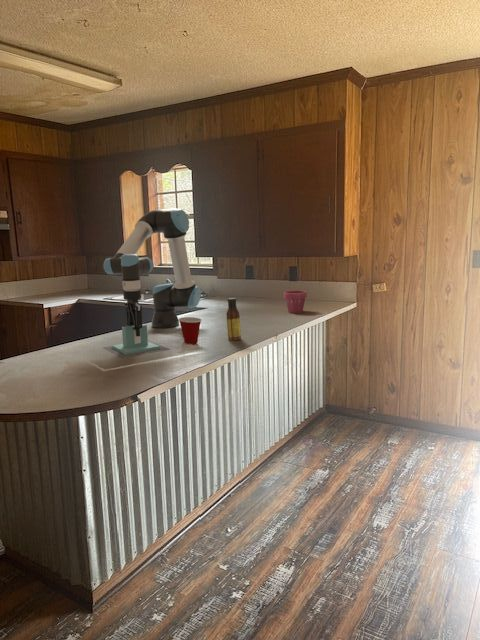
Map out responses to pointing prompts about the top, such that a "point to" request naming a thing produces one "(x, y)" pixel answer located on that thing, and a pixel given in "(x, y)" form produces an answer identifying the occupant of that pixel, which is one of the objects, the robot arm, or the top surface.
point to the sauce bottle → (233, 320)
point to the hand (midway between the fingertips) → (135, 342)
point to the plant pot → (295, 300)
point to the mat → (135, 353)
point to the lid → (128, 341)
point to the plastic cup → (190, 329)
